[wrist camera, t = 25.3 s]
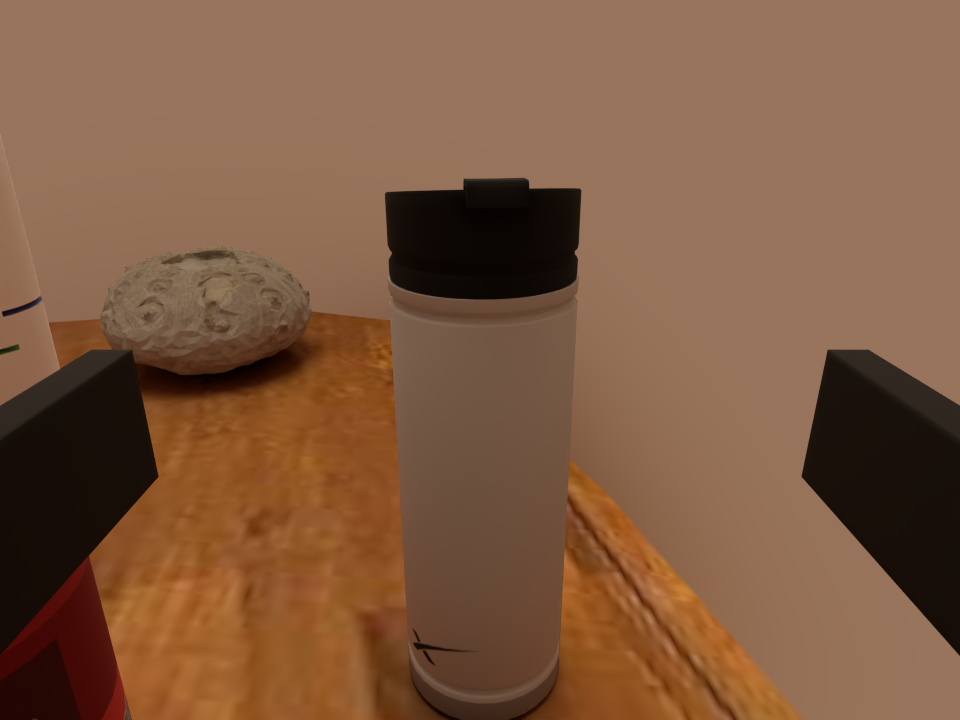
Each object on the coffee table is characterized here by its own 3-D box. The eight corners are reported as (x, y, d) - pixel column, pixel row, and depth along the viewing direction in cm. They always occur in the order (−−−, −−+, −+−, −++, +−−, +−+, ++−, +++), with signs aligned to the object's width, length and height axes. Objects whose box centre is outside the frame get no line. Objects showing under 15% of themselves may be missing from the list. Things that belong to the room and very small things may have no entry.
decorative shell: (351, 356, 62) (343, 252, 58) (167, 418, 49) (142, 291, 46) (251, 320, 73) (239, 231, 69) (79, 363, 60) (53, 257, 57)
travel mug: (411, 744, 24) (378, 183, 17) (408, 614, 30) (384, 164, 23) (577, 725, 24) (614, 179, 17) (541, 603, 30) (558, 162, 23)
